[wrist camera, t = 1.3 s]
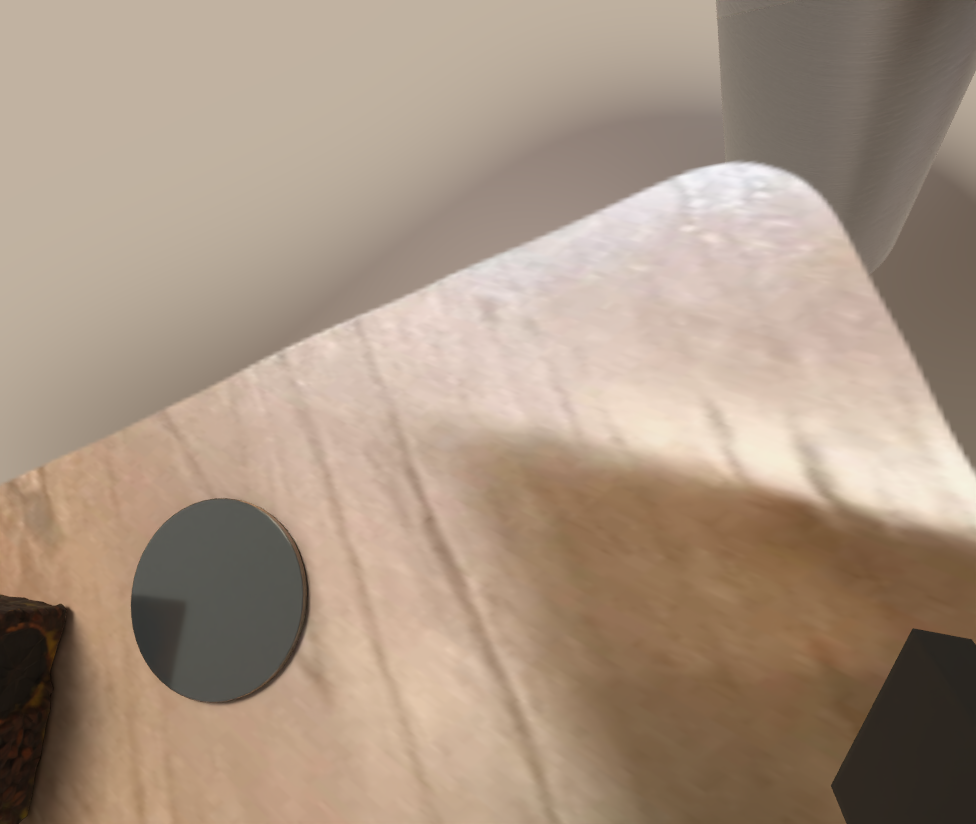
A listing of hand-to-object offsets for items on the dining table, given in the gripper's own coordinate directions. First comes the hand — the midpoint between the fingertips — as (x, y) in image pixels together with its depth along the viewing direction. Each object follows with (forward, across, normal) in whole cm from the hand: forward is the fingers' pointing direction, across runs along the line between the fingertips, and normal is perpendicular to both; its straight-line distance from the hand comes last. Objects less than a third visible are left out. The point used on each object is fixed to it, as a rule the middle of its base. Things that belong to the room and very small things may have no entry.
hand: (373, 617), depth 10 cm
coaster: (+22, -8, -19) cm, 30 cm away
